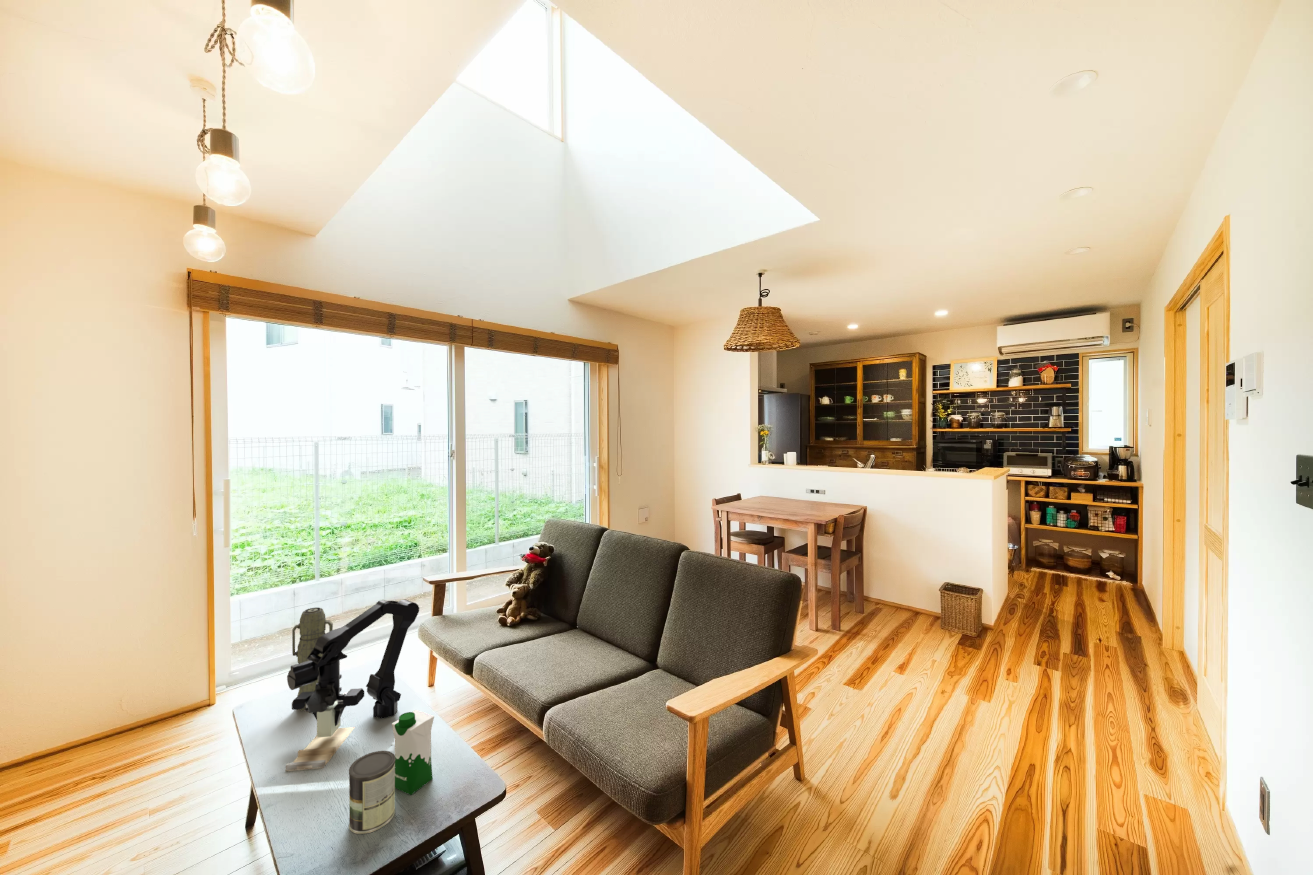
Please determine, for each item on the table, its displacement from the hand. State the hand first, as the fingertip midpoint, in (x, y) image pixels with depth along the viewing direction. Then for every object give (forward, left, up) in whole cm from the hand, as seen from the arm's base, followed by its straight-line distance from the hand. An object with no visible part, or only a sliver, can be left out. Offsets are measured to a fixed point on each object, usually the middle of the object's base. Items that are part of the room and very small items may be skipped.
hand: (328, 725), depth 156 cm
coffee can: (-26, +34, -6) cm, 43 cm away
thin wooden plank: (0, +4, -6) cm, 7 cm away
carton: (0, 0, -2) cm, 2 cm away
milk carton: (-32, +22, -6) cm, 39 cm away
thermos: (+16, -23, -6) cm, 29 cm away
